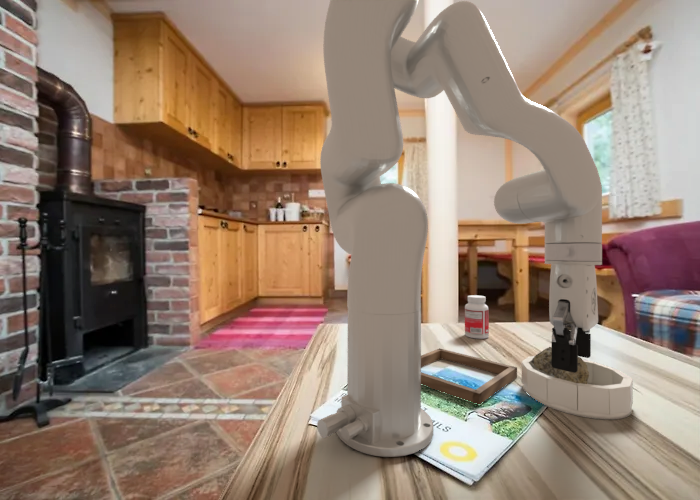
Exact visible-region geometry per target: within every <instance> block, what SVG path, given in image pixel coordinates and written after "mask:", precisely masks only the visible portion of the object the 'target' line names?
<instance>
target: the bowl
mask: <svg viewBox="0 0 700 500" xmlns="http://www.w3.org/2000/svg"><path fill="white" fill-rule="evenodd" d="M535 356H536V355H530V356H527V357H526V358H524V359H523V360H521V383H522V385H523V386H522V388H523V391H524V390H525V391H526V392H527V393H528V394H529V395H530V396H531V397H532V398H534V399H535V400H534V399H533V400H534V401H536V400H537V401H538V402H537V401H536V402H537V403H539V402H540V403H539V404H541V403H542V405H543V404H544V406H545V407H548V408H550V409H553V410H556V411H559V412H563V413H566V414H570V415H574V416H577V417H583V418H587V419H588V418H589V419H596V420H606V421H607V420H608V421H609V420H620V419H625V418H628V417H629V416H631V415H632V412H633V411H632V410H633V408H632V407H633V402H634V401H633V400H634V396H633V394H634V393H633V392H634V390H633V388H634V386H633V384H634V383H633V382H634V379H633V378H632V377H631V376H629V375H628V374H626V373H624V372H623V371H621V370H620V369H618V368H617V369H616V368H614V367H611V366H608V365H605V364H604V363H603V364H602V363H599V362H597V361H592V360H586V359H582V360H583V361H584V362H585V363H586V365H587V368H588V372H589V377H588V380H587V384H581V383H574V382H570V381H566V380H562V379H558V378H554V377H553V376H551V375H549V374H547V373H545V372H543V371H541V370H539V369H538V368H536V366H535V365H534V364H533V363H532V362H531V361H532V359H533V358H534V357H535ZM525 391H524V392H525ZM530 396H529V397H530ZM531 397H530V398H531ZM532 398H531V399H532Z"/></svg>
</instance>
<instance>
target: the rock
mask: <svg viewBox="0 0 700 500" xmlns="http://www.w3.org/2000/svg"><path fill="white" fill-rule="evenodd" d="M534 356H535V357H534V358H533V359H532V361H531V362H532V363H533V364H534V365H535V366H536V368H538V369H539V370H541V371H543V372H545V373H547V374H549V375H551V376H553V377H554V378H558V379H562V380H566V381H570V382H574V383H581V384H587V380H588V377H589V372H588V368H587V365H586V363H585V362H584V361H583V360H584V359H583V358H581V357H580V356H578V371H577V372H576V373H573V372H569V371H564V370H560V369H556V368H553V367H552V365H551V364H552V346H549V347H547V348H545V349H543V350H542V351H540V352H538V353H537V354H535V355H534Z"/></svg>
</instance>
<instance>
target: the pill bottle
mask: <svg viewBox="0 0 700 500" xmlns="http://www.w3.org/2000/svg"><path fill="white" fill-rule="evenodd" d="M486 297H487V296H484V295H477V294H474V295H470V294H469V295H467V303H466V304H465V305H464V335H465V336H466V337H468V338H471V339H477V340H478V339H487V338H489V336H490V334H489V333H490V323H489V321H490V317H489V316H490V315H489V314H490V313H489V312H490V311H489V306H488V305H487V304H486V301H487V300H486V299H487V298H486Z"/></svg>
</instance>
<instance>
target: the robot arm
mask: <svg viewBox="0 0 700 500" xmlns="http://www.w3.org/2000/svg"><path fill="white" fill-rule="evenodd" d="M418 4H419V0H329V5H328V8H327V12H326V18H325V21H324V32H323V61H324V62H323V65H324V72H325V80H326V88H327V96H328V102H329V108H330V109H329V110H330V116H331V117H330V118H331V127H330V130H329V133H328V135H327V136H326V138H325V140H324V142H323V145H322V147H321V150H320V151H321V152H320V162H319V164H320V173H321V179H322V184H323V191H324V196H325V202H326V207H327V212H328V216H329V220H330V227H331V230H332V234H333V236H334V239H335V241H336V242H337V244H338V246H339V247H340V248H341V250H343V252H346V253H347V254H349V255H350V262H349V266H348V267H349V268H348V275H347V276H348V277H347V278H348V279H347V295H346V296H347V301H346V302H347V303H346V304H347V305H346V306H347V376H346V377H347V382H346V383H347V394H346V395H344V396H342V397H340V399H341V403H340V404H341V407H339V408H337V410H336V412H335V413H333V414H330V415H327V416H325V417H323V418H321V419H319V420H318V421H317V423H316V425H317V426H316V427H317V431H318V434H319V435H320V436H321V437H322V438H324V439H325V438H328V437H330V436H331V435H333V434H335V433H336V435H337V436H338V438H339V439H340V440H341V441H342V442H343V443H345V445H347V446H348V447H350V448H352V449H353V450H355V451H358V452H360V453H363V454H365V455H366V454H367V455H370V456H376V457H383V458H391V457H392V458H396V457H404V456H408V455H412V454H415V453H417V452H419V450H420V451H422V450H423V449H424V448H426V447H427V446H428V445H429V444H430V443H431V441H432V440H433V437H434V422H433V420H432V418H431V416H430V415H429V414H428V412H426V410H424V409H423V408H422V407H421V406H422V403H421V401H422V399H421V398H422V390H421V389H422V385H421V371H422V370H421V369H422V367H421V355H422V308H421V306H422V303H421V301H422V299H421V297H422V273H423V272H422V271H423V264H424V256H425V252H426V246H427V240H428V239H427V238H428V234H429V233H428V232H429V231H428V230H429V221H428V220H429V219H428V213H427V210H426V207H425V204H424V203H423V201H422V199H421V198H420V197H419V195H418V194H417V193H416V192H415V191H413V190H412V189H411V188H410V187H407V186H405V185H403V184H399V183H394V182H391V183H390V182H387V183H382V181H381V177H382V176H383V175H384V174H385V173H388V171H390V170H391V169H392V168H394V166H396V165H397V164H398V162H399V160H400V159H401V157H402V153H403V151H404V134H403V130H402V129H403V128H402V123H401V118H400V111H399V107H398V102H397V101H398V100H397V96H396V90H397V91H400V92H402V93H404V94H406V95H409V96H412V97H416V98H419V99H431V98H435V97H436V96H438V95H440V94H441V93H443V92H444V93H445V95H446V97H447V99H448V101H449V102H450V104H451V106H452V108H453V110H454V113H455V114H456V115H457V116H456V117H457V118H458V120H459V122H460V124H461V126H462V128H463V130H464V131H465V132H466V133H468V134H470V135H475V136H485V137H486V136H487V137H495V138H501V139H505V140H509V141H513V142H515V143H517V144H518V145H521V146H523V148H526V149H527V150H528V151H529V152H531V153H532V154H533V155H534V156H535V157H536V159H537V160H538V161H539V163H540V165H541V166H542V167H543V169H541V170H538V171H535V172H531V173H528V174H526V175H521V176H518V177H515V178H513V179H510V180H508V181H506V182H505V183H503V184H502V185H501V186H500V187H499V188H498V189H497V190H496V193H495V195H494V198H493V205H494V209H495V212H496V213H497V214H498V215H499V217H500V218H502V219H503V220H505V221H507V222H509V223H513V224H517V225H518V224H520V225H521V224H523V225H524V224H533V223H541V222H542V223H544V264H545V265H550V274H549V275H550V276H549V297H548V298H549V302H548V304H549V305H548V307H549V308H548V311H549V313H548V314H549V323H550V325H552V326H553V327H552V329H551V330H552V331H551V332H552V334H551V347H552V364H551V365H552V367H553V368H556V369H560V370H564V371H569V372H573V373H576V372H577V371H578V357H580V358H581V357H582V358H586V359H588V358H590V357H591V355H592V354H591V353H592V351H591V346H592V345H591V344H592V342H591V341H592V340H591V339H592V336H591V335H592V334H591V333H590V332H591V329H592V328H594V327H595V326H597V324H598V323H599V310H598V309H599V306H598V285H597V273H596V266H601V265H602V266H603V188H602V187H603V186H602V183H601V177H600V174H599V171H598V167H597V166H596V163H595V161H594V158H593V156H592V154H591V152H590V149H589V148H588V145H587V143H586V141H585V139H584V137H583V136H582V134H581V133H580V132H579V130H578V129H577V128H576V127H575V126H574V125H572V124H571V123H570V122H569V121H568V120H567V119H565V118H563V116H560V114H558V113H557V112H554V111H553V110H551V109H549V108H548V107H546V106H543V105H541V104H538V103H536V102H534V101H531V100H530V99H528V98H526V97H525V96H524V95H523V93H522V92H521V90H520V89H519V86H518V84H517V82H516V80H515V78H514V75H513V74H512V72H511V70H510V67H509V66H508V63H507V61H506V59H505V57H504V55H503V53H502V51H501V49H500V46H499V45H498V42H497V41H496V40H497V39H495V36H494V34H493V32H492V29H490V26H489V24H488V22H487V20H486V18H485V16H484V14H483V12H482V11H481V9H480V8H479V6H477V5H476V4H475V3H473V2H471V1H467V0H466V1H465V0H461V1H457V2H454V3H452V4H450V5H448V6H447V7H446V8H444V9H443V10H441V12H440V13H439V14H437V15H436V16H435V18H433V20H431V22H430V23H429V24H428V25H427V27H426V28H425V30H424V31H423V32H422V33H421V35H420V37H418V38H417V40H416V41H412V40H410V39H407V38H405V37H403V36H402V35H403V33H404V31H405V30H406V28H407V27H408V25H409V23H410V22H411V21H412V18H413V17H414V15H415V12H416V10H417V7H418ZM421 449H422V450H421Z"/></svg>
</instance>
